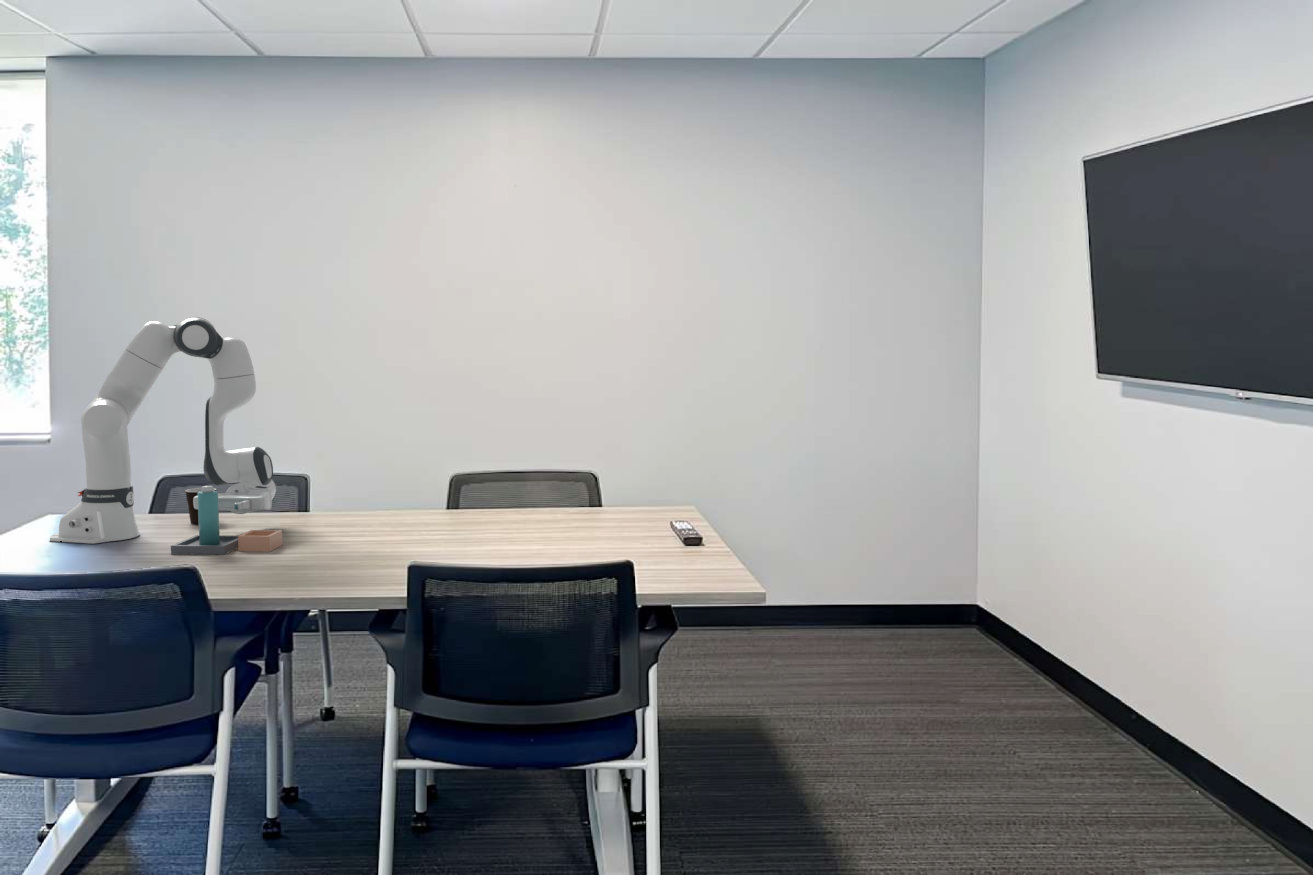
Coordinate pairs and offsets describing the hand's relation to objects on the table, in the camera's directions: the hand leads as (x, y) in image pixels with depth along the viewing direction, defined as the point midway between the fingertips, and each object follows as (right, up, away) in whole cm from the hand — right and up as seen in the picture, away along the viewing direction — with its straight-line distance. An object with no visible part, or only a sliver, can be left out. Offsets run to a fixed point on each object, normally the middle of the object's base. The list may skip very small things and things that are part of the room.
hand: (219, 506), depth 288 cm
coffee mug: (-18, -7, +33) cm, 38 cm away
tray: (0, -11, -6) cm, 12 cm away
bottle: (0, -10, -6) cm, 11 cm away
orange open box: (+13, -11, -4) cm, 17 cm away
